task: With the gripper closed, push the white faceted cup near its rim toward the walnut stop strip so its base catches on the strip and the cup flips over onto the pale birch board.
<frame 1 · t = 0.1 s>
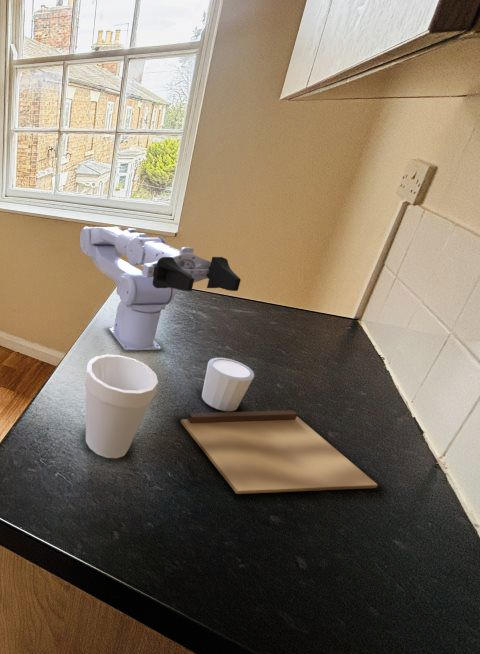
hand: (214, 285, 64), 22 cm above the worktop, tool horizontal, fingers open, 7 cm apart
foam cup: (106, 443, 62), on the worktop
white faceted cup: (219, 401, 72), on the worktop
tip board: (269, 451, 61), on the worktop
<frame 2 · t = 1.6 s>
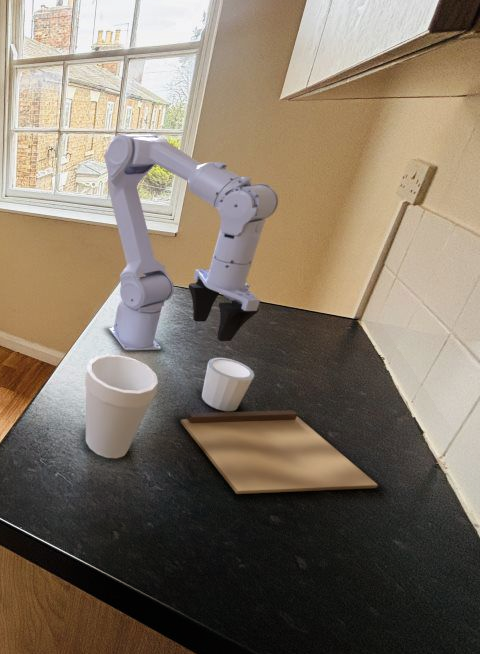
hand: (211, 330, 74), 10 cm above the worktop, tool pointing down, fingers open, 7 cm apart
nothing on the worktop moved.
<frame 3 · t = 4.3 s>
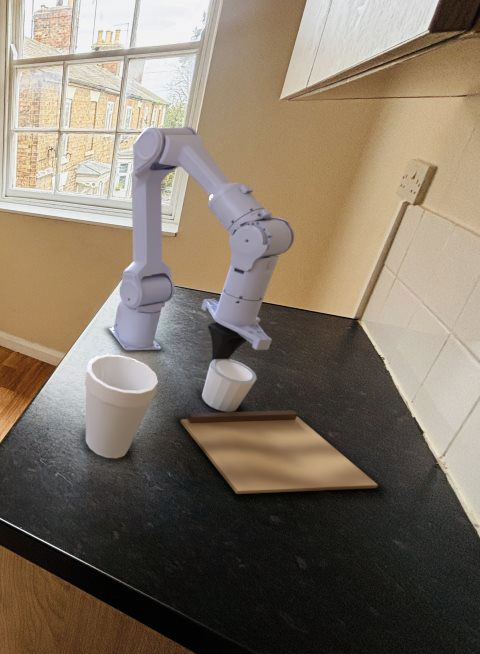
hand: (219, 363, 71), 6 cm above the worktop, tool pointing down, fingers closed, pressing on white faceted cup
white faceted cup: (219, 401, 72), on the worktop, touching gripper
everything else where it was.
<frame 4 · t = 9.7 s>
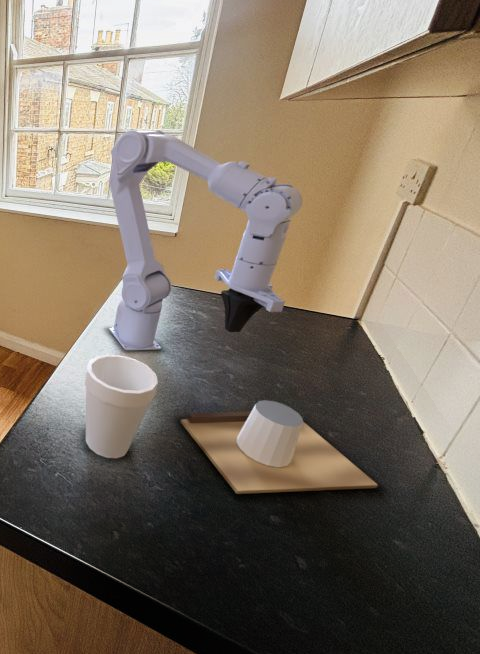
hand: (232, 330, 74), 10 cm above the worktop, tool pointing down, fingers closed
white faceted cup: (279, 411, 57), point 8 cm above the worktop, touching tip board
everything else where it was.
at the end: white faceted cup tilted 180°; white faceted cup inside the target area (1.7 cm from its centre), point 7.8 cm above the worktop; foam cup moved 0.2 cm from its start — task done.
